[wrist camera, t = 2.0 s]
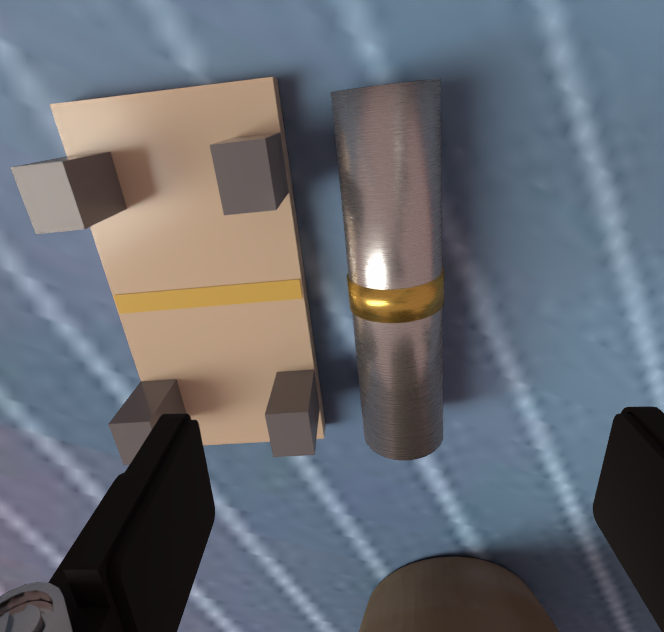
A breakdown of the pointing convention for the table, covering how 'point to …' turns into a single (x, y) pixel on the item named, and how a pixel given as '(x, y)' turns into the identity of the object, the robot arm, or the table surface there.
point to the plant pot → (454, 600)
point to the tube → (394, 259)
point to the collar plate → (193, 256)
